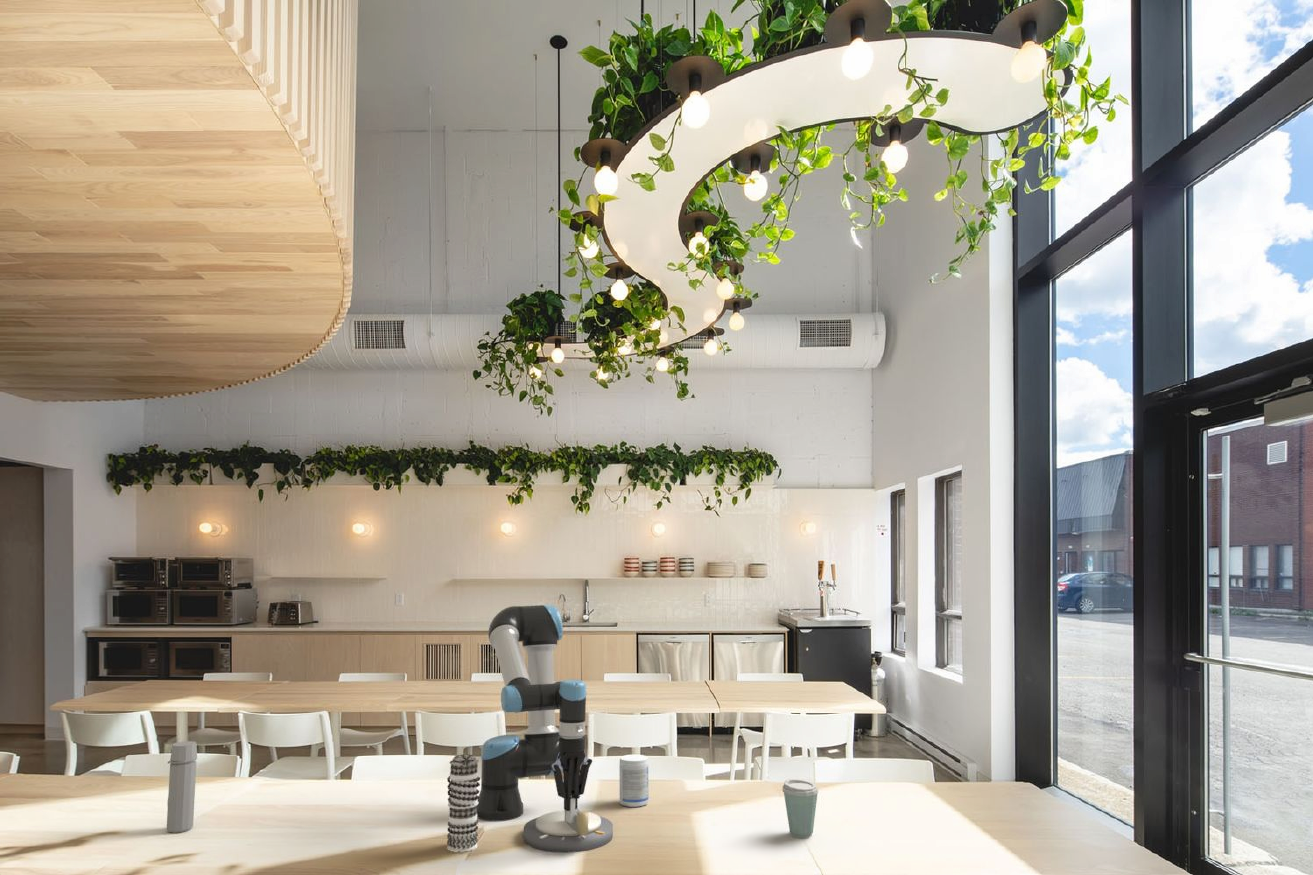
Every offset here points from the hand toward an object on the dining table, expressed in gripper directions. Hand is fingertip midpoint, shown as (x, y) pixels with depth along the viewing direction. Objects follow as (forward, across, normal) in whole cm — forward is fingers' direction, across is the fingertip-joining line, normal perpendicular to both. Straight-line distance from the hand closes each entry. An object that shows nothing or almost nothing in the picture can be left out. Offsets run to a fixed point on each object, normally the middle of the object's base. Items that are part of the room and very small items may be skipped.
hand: (570, 821), depth 260 cm
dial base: (+7, +4, +8) cm, 11 cm away
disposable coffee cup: (+7, +60, -32) cm, 68 cm away
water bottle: (+8, -86, +84) cm, 120 cm away
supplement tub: (+7, +39, +23) cm, 46 cm away
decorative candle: (+7, -24, +18) cm, 31 cm away
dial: (+4, +4, +5) cm, 8 cm away
